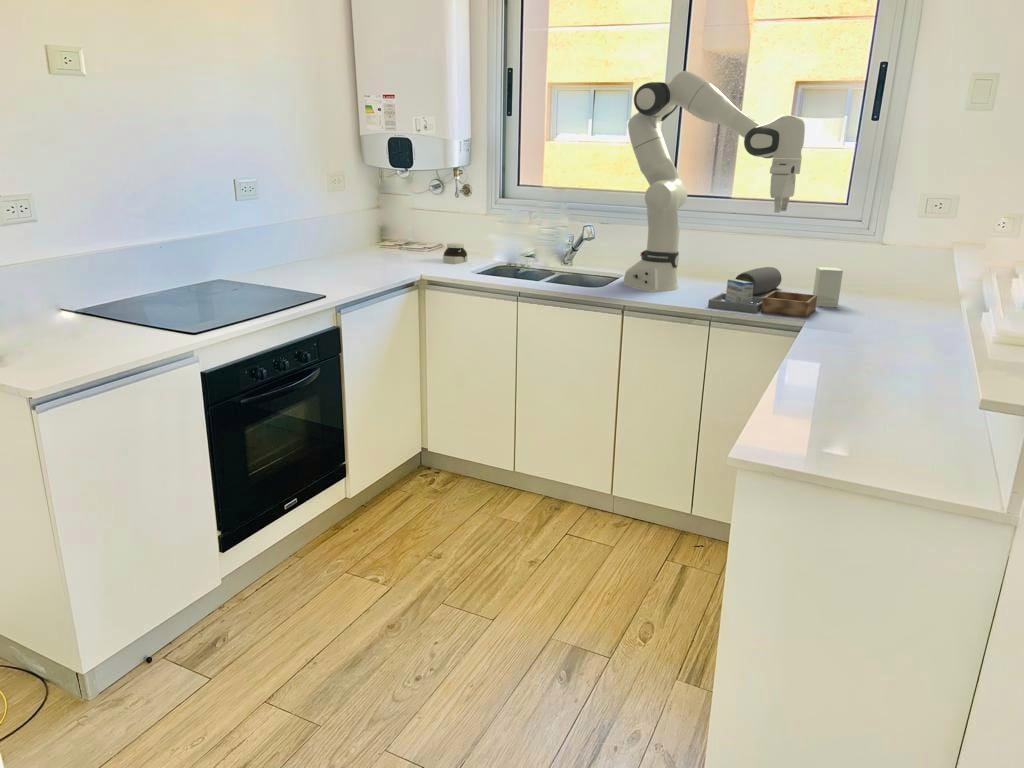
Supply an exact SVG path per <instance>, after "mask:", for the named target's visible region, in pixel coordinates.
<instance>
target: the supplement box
mask: <svg viewBox="0 0 1024 768" xmlns="http://www.w3.org/2000/svg"><path fill="white" fill-rule="evenodd" d="M843 272H844V270H842V269H840V268H839V267H827V266H826V267H822V266H821V267H818V266H817V267H816V270H815V276H814V284H813V290H812V291H813V292H812V295H817V302H816V307H818V306H823V307H822V308H833V307H837V308H838V305H839V299H840V293H841V287H842V279H843Z"/></svg>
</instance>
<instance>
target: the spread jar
mask: <svg viewBox="0 0 1024 768" xmlns="http://www.w3.org/2000/svg"><path fill="white" fill-rule="evenodd" d="M464 246H465V245H464V243H463V242H448V243H446V247H447V248H445V251H444V253H443V256H442V257H443V258H442V259H443V261H442V262H443V263H444V264H449V265H460V264H465V263H467V262H468V252H467V251H466V249H465V248H464Z"/></svg>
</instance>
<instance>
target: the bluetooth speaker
mask: <svg viewBox="0 0 1024 768" xmlns="http://www.w3.org/2000/svg"><path fill="white" fill-rule="evenodd" d="M734 279H737V280H742V281H747V282H752V283H754V286H753V294H752V296H753V297H754V296H759V295H762V294H765V293H768V292H770V291H771V292H772V290H773V291H774V290H775V289H776V288H778V287H779V286H780V285H781V283H782V280H783V279H782V274H781V271H780V270H779V269H778V268H776V267H772V266H766V267H758V268H757V267H756V268H754V269H749V270H747V271H744V272H741V273H740V274H738V275H736V277H735V278H734Z"/></svg>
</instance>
